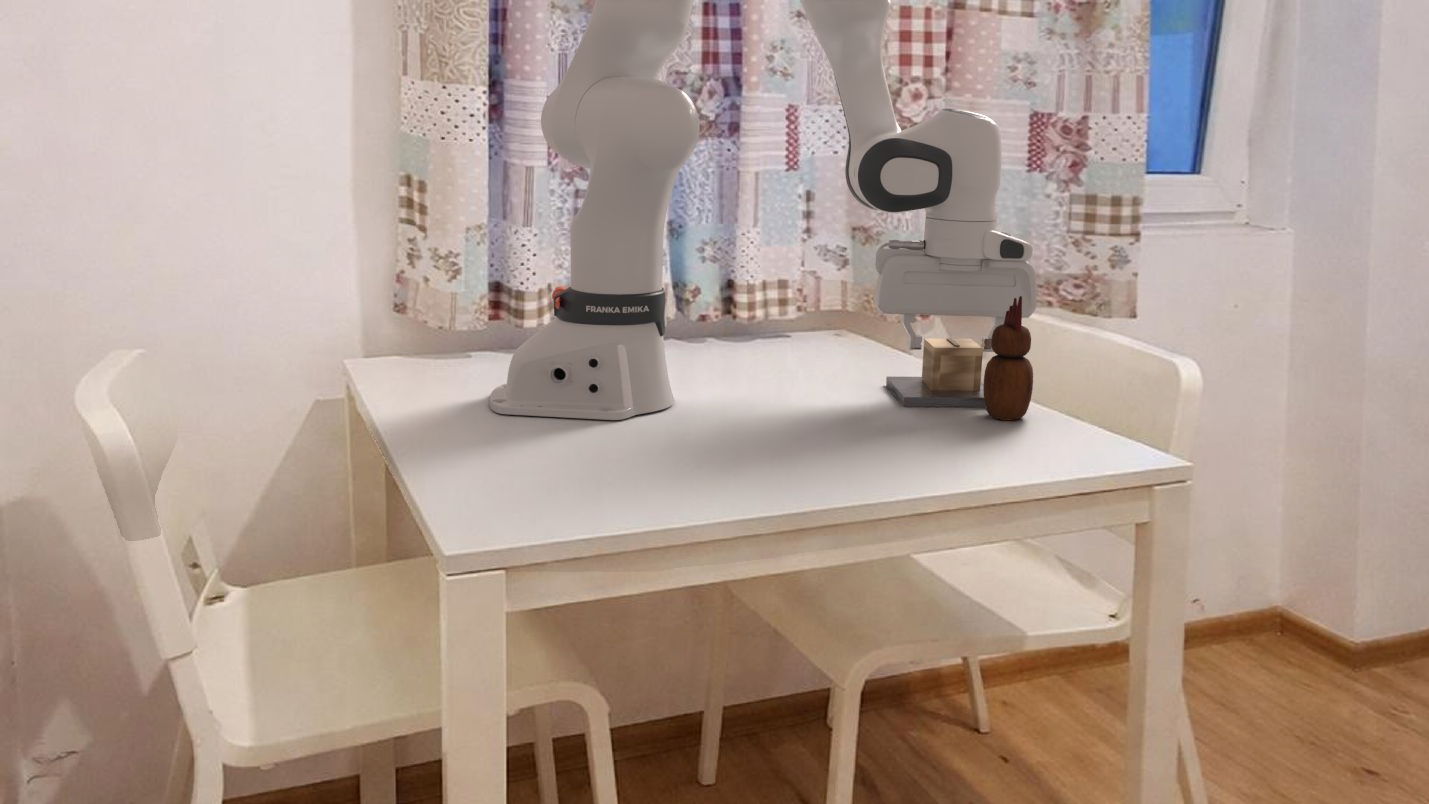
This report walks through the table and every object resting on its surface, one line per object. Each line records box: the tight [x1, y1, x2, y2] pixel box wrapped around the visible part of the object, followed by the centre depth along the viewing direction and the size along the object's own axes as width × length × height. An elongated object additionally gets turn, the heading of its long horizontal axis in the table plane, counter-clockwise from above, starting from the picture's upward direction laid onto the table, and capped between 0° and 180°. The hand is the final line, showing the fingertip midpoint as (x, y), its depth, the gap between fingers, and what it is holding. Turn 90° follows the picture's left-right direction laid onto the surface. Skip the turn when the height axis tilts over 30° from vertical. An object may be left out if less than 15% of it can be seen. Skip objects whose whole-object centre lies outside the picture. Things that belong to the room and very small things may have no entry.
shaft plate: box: [885, 376, 986, 408], centre depth 169 cm, size 12×12×5 cm
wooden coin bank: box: [921, 337, 984, 391], centre depth 170 cm, size 6×6×6 cm
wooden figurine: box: [983, 296, 1034, 421], centre depth 157 cm, size 7×6×15 cm
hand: (950, 350), depth 169 cm, fingers open, 8 cm apart
